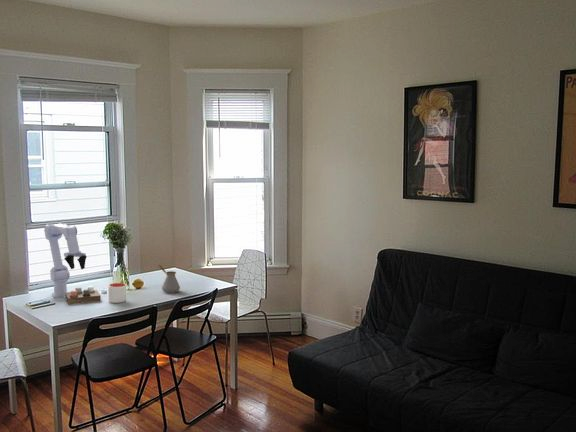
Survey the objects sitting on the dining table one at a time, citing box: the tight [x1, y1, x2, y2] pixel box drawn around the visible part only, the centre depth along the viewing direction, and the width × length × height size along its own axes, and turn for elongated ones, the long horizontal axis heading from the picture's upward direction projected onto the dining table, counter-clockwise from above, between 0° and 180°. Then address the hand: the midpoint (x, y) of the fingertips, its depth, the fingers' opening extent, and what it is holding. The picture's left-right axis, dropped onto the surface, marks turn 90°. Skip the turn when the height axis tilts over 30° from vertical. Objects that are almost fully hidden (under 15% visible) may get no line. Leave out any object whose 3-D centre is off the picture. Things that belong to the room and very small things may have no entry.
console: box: [64, 289, 102, 305], centre depth 331 cm, size 14×18×4 cm
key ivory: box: [87, 285, 95, 293], centre depth 336 cm, size 3×3×4 cm
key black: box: [82, 288, 90, 297], centre depth 328 cm, size 3×3×4 cm
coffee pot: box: [157, 264, 181, 294], centre depth 358 cm, size 21×12×15 cm, turn 42°
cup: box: [108, 282, 127, 304], centre depth 330 cm, size 10×10×10 cm
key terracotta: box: [70, 290, 77, 298], centre depth 325 cm, size 3×3×4 cm
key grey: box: [74, 286, 83, 294], centre depth 333 cm, size 3×3×4 cm
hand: (77, 268), depth 316 cm, fingers open, 7 cm apart
